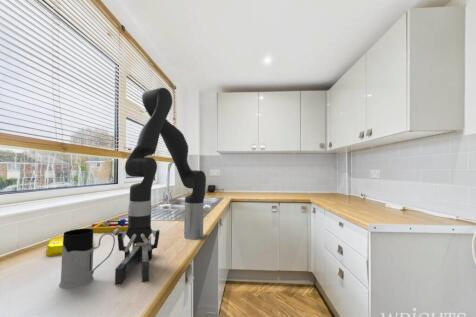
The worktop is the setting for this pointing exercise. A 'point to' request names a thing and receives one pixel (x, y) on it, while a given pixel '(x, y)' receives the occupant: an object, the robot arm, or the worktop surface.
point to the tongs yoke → (140, 248)
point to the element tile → (55, 246)
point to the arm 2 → (145, 264)
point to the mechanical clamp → (105, 227)
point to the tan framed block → (140, 243)
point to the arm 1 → (127, 265)
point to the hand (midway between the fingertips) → (138, 261)
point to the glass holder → (78, 258)
